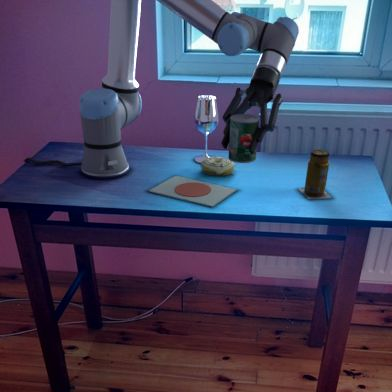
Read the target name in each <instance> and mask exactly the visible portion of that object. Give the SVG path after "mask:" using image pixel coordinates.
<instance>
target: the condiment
mask: <svg viewBox="0 0 392 392" xmlns="http://www.w3.org/2000/svg"><path fill="white" fill-rule="evenodd" d="M329 159H330V152H329V151H328V150H325V149H314V150H312V151H311V152H310V156H309V159H308V162H307V167H306V174H305V181H304V188H298V190H299V191H300V193H302V195H303V196H305V198H306V199H307V200H324V199H332V196H331V195H330V194H328V193H327V192H326V187H327V181H328V173H329V168H330V162H329V161H330V160H329Z"/></svg>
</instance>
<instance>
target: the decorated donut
mask: <svg viewBox="0 0 392 392" xmlns="http://www.w3.org/2000/svg"><path fill="white" fill-rule="evenodd" d="M200 167H201V170H202V172H203V173H204V174H206V175H209V176H216V177H224V176H228V175H231V174H233V172H234V169H235V167H236V165H235V162H232V161H230V160H229V159H228V158H226V157H222V156H212V157H209V158H206V159H204V160H202V161H201V163H200Z"/></svg>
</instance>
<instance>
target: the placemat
mask: <svg viewBox="0 0 392 392" xmlns="http://www.w3.org/2000/svg"><path fill="white" fill-rule="evenodd" d="M147 191H148V192H149V193H153V194H157V195H160V196H164V197H169V198H173V199H176V200H181V201H185V202H189V203H193V204H198V205H201V206H206V207H209V208H213V207H214V206H216V205H217V204H219V203H221V202H222V201H224V200H225V199H227V198H228V197H230V196H231V195H233V194H234V193H236V192H237V191H238V189H237V188H233V187H229V186H225V185H220V184H216V183H210V182H206V181H201V180H198V179H194V178H189V177H184V176H180V175H174V176H172V177H171V178H169V179H167V180H165V181H163V182H161V183H159V184H158V185H156V186H153V187H152V188H150V189H148V190H147Z"/></svg>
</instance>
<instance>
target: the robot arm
mask: <svg viewBox="0 0 392 392" xmlns="http://www.w3.org/2000/svg"><path fill="white" fill-rule="evenodd" d="M156 1H157V2H158V3H159V4H160V5H162V6H163V7H165V8H167V9H168V10H170V12H172V13H173V14H175V15H176V16H178V18H180V19H182V20H183V21H185V22H186V23H187V24H189V25H190V26H192V27H193V28H194V29H196V30H197V31H199V32H200V33H201V34H202V35H204V36H206V37H207V38H208V39H210V40H211V41H213V43H215V44H216V45H217V46H218V49H219V50H220V51H221V53H222V54H223V55H225V56H228V57H236V56H240V55H242V54H243V53H244V52H245V51H247V50H252V51H255V52H257V53H261V54H260V56H259V60H258V61H257V64H256V67H255V69H254V71H253V74H252V76H251V79H250V82H249V85H248V86H247V87H246V89H245V88H244V89H241V87H237V88H236V90H235V94H234V96H233V97H232V99H231V101H230V103H229V105H228V106H227V108H226V109H225V111H224V113H223V114H222V117H221V118H222V120H223V122H224V124H225V126H224V128H223V131H222V132H223V138H222V140H221V143H220V144H221V145H222V147H223V149H224V150H227V149H228V147H229V139H230V120H231V119H230V117H231V116H233V115H237V114H246V112H247V111H248V110H251V108H252V107H257V108H260V109H259V111H260V112H259V113H260V124H259V127H257V129H256V132H255V134H254V137H253V139H252V142H251V144H250V146H249V151H250V153H251V154H254V152H255V150H256V147H258V145H259V144H260V143H262V142H263V140H264V137H265V135H266V133H268V132H270V133H272V132H274V131H275V127H276V123H277V118H278V113H279V109H280V107H281V105H282V103H283V102H284V99H283V97H282V94H281V93H276V91H277V89H278V86H279V83H280V81H281V78H282V77H283V74H284V71H285V69H286V66H287V65H288V61H289V60H290V56H291V55H292V52H293V50H294V48H295V46H296V42H297V39H298V36H299V34H300V30H299V29H300V28H299V25H298V23H297V21H295V20H294V19H292V18H290V17H288V16H284V17H283V16H278V17H277V18H276V19H275V20H274V22H268V21H266V20H265V21H264V20H262V19H259V18H257V17H254V16H251V15H248V14H247V13H244V12H238V11H233V12H231V13H230V12H228V11H227V10H226V9H225V8H223V7H222V6H221V5H219V4H218V3H217V2H215V1H214V0H156ZM141 7H142V0H110V15H109V17H110V18H109V33H108V34H109V36H108V54H107V71H106V72H107V73H106V75H104V77H102V79H101V88H95V89H90V90H88V91H85V92H84V93H83V94H81V96H80V97H79V107H78V108H79V114H80V120H81V121H80V122H81V129H82V138H83V144H84V145H83V146H84V149H83V154H82V160H81V162H80V161H79V162H64V161H62V160H57V159H51V160H36V159H34V158H33V157H26V158H25V159H24V160H23V163H27V162H32V163H33V164H36V165H48V164H59V165H62V166H64V167H75V166H77V167H78V166H80V170H81V174H82V175H83V176H85V177H86V178H90V179H96V180H109V179H111V180H112V179H116V178H120V177H123V176H125V175H127V174H128V173H129V172H130V164H129V161H128V160H127V157H126V154H125V150H124V149H123V146H122V134H121V133H122V132H121V130H122V129H124V128H125V127H126V126H129V125H131V124H132V123H134V122H135V121H136V120H137V118H138V117H139V116H140V114H141V111H142V107H143V101H142V96H141V94H140V92H139V90H140V89H139V88H140V84H139V82H138V81H137V80H136V68H137V56H138V55H137V54H138V42H139V32H140V19H141ZM270 102H272V105H271V108H270V113H269V117H268V104H269V103H270ZM256 151H257V150H256Z"/></svg>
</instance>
